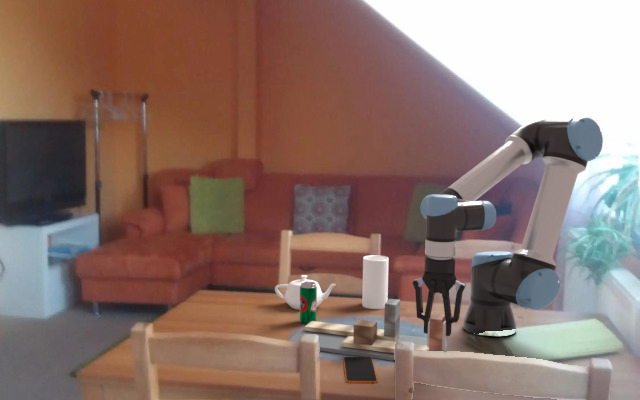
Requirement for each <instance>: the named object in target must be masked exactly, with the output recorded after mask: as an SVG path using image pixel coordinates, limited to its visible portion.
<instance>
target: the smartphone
mask: <svg viewBox="0 0 640 400" xmlns="http://www.w3.org/2000/svg"><path fill="white" fill-rule="evenodd" d="M342 359H343V369H344V371H343V372H344V380H345V382H346V383H347V384H378V382H379V380H378V376H377V374H376V369H375V364H374V361H373V358H371V357H363V356H343V358H342Z"/></svg>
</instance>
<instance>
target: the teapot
mask: <svg viewBox="0 0 640 400" xmlns="http://www.w3.org/2000/svg"><path fill="white" fill-rule="evenodd" d="M300 278H301V279H295V280H292V281H290V282H289V283H283V284H282V283H281V284H277V285H276V286H274V292H275V294H276V295H277V296H278V297H279V298H281V299H283V300H285V302H286V304H287V305H288V306H289V307H290V308H291V309H294V310H299V311H300V286H301V283H302V282H306V281H310V282H315V283H316V286H317V308H318V306H319V305H320V304H321V303H323V301H324V300H326V299H327V298H328V297H329V296H330V295H331V292H332V290H333V288H334V287H335V286H336V285H337V284H336V283H331V284H329V286H328V288H327V289H326V291H325V292H322V289H321V286H320V284H319V282H318V281H316V280H314V279H307V278H308V275H307V274H301V275H300ZM279 288H286V291H285V294H282V293H281V292H280V290H279Z"/></svg>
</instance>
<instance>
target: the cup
mask: <svg viewBox="0 0 640 400" xmlns="http://www.w3.org/2000/svg"><path fill="white" fill-rule="evenodd" d="M388 288H389V257H388V256H385V255H379V254H378V255H376V254H375V255H371V254H370V255H365V256H363V258H362V295H361V296H362V299H361V301H362V303H361V305H362V307H363V308H365V309H370V310H382V309H385V303H386V302H387V301H388V300H389V298H388V295H389V289H388Z"/></svg>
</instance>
